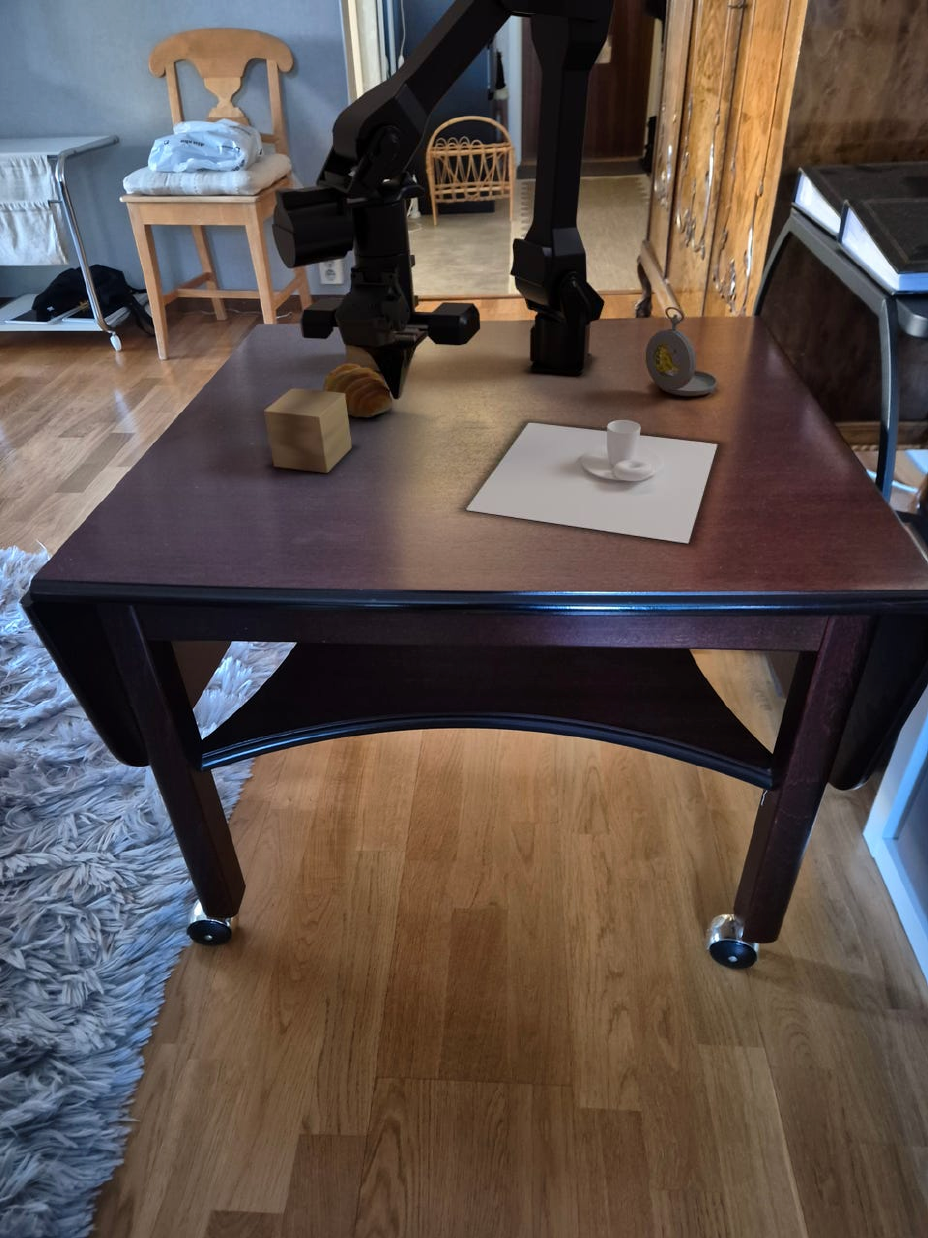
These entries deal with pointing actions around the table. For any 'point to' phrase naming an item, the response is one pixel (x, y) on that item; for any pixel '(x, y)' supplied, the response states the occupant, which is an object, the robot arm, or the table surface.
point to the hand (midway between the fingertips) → (397, 397)
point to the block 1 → (308, 429)
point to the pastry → (359, 389)
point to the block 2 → (360, 358)
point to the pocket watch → (676, 362)
